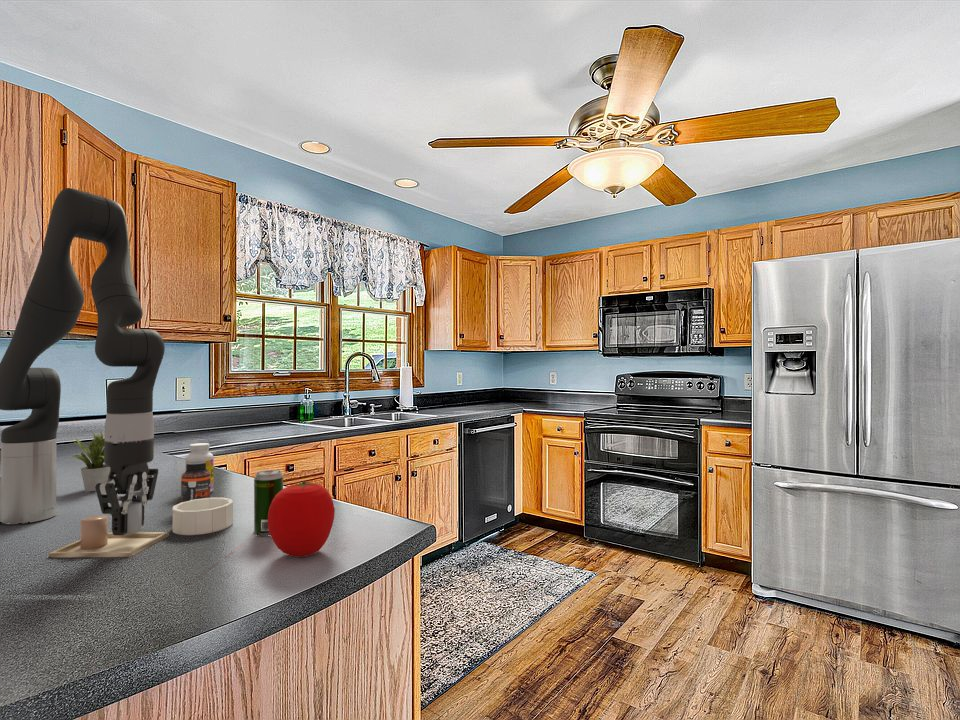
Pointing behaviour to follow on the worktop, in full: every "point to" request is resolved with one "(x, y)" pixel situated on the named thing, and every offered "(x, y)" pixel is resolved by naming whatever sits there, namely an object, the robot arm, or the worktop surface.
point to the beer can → (265, 497)
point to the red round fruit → (301, 518)
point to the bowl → (202, 516)
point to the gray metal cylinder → (134, 517)
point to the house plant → (93, 463)
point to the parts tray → (113, 546)
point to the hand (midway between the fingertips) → (128, 530)
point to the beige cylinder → (94, 532)
